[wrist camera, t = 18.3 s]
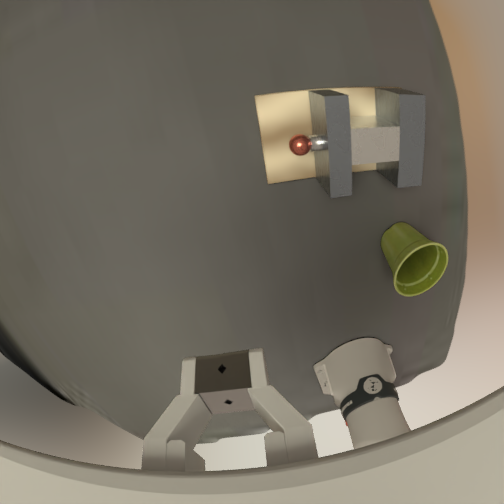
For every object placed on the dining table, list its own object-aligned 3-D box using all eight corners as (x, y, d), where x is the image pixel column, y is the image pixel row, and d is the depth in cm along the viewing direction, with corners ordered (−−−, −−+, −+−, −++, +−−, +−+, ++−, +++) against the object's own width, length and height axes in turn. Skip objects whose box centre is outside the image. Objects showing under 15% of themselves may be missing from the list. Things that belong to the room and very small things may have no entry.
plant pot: (377, 212, 42) (404, 245, 35) (426, 211, 42) (456, 242, 35) (365, 263, 47) (386, 300, 40) (412, 259, 48) (436, 292, 41)
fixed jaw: (398, 167, 37) (421, 185, 32) (376, 169, 37) (397, 187, 32) (398, 88, 30) (425, 95, 25) (374, 87, 30) (399, 94, 25)
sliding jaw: (334, 175, 37) (352, 195, 32) (288, 181, 37) (299, 203, 32) (329, 89, 30) (348, 95, 25) (277, 93, 30) (288, 99, 25)
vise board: (397, 164, 37) (401, 167, 37) (267, 180, 38) (268, 183, 37) (397, 87, 31) (401, 88, 30) (254, 95, 31) (255, 96, 31)
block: (376, 145, 35) (399, 160, 30) (332, 149, 35) (350, 165, 30) (375, 115, 32) (399, 126, 28) (330, 117, 32) (349, 129, 28)
